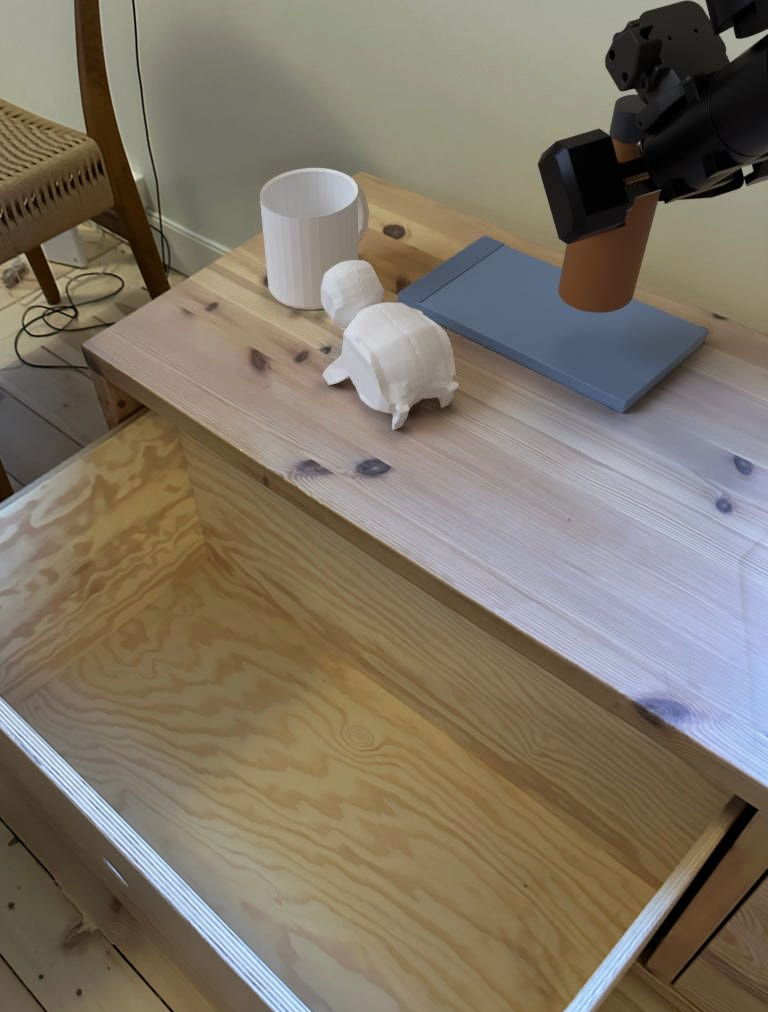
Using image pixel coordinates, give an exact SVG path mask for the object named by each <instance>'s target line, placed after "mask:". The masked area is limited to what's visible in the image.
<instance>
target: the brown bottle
mask: <svg viewBox="0 0 768 1012" xmlns="http://www.w3.org/2000/svg"><path fill="white" fill-rule="evenodd" d="M645 106H647V104H645V103H644V102H643V101H642V100H641V99H640V97H639V95H638V94H636V93H634V94H626V95H623V96H621V97H619V98H617V99H616V100H615V102H614V107H613V112H612V116H611V122H610V126H609V131H608V134H609V135H610V136H611V138H612V141H613V145H614V149H615V152H616V156H617V160H618V161H621V163H623V162H627V161H630V160H633V159H636V158H640V157H643V156H641V155H640V153H639V151H638V147H637V143H638V142H639V141H640V140H641V139H643V138H647V135H646V132H645V133H642V134H641V133H639V129H638V125H637V122H636V118H635V114H637V113H638V112H639V111H640V110H642V109H643V108H644V107H645ZM649 177H650V176H647V177H643V178H640V179H637V180H634V181H631V182H628V183H626V184H627V185H628V184H629V183H631V184H632V183H634V182H638V181H639V180H641V181H642V180H643V179H647V178H649ZM660 192H661V191H658V192H655V193H652V194H648V195H645V196H642V197H639V198H636V199H635V202H634V206H633V208H632V209H631V210H630V211H628V212H627V214H626V219H625V224H626V226H624V227H621V228H618V229H615V230H612V231H609V232H606V233H602V234H600V235H597V236H594V237H590V238H587V239H584V240H581V241H578V242H575V243H572V244H569V245H568V244H565V245H566V246H565V250H564V255H563V261H562V265H561V269H562V272H561V277H560V283H559V288H558V292H559V295H560V297H561V299H562V300H563V301H564V302H565V303H567V304H568V305H570V306H571V307H573V308H576V309H578V310H582V311H586V312H593V313H605V312H611V311H615V310H618V309H621V308H623V307H625V306H626V305H627V304H629V303H630V301H631V300H632V298H633V299H634V295H635V291H636V287H637V283H638V279H639V275H640V271H641V268H642V264H643V261H644V258H645V257H644V256H645V253H646V249H647V245H648V241H649V237H650V234H651V230H652V229H651V228H652V226H653V222H654V218H655V215H656V210H657V207H658V203H659V202H658V199H659V196H660Z"/></svg>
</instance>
